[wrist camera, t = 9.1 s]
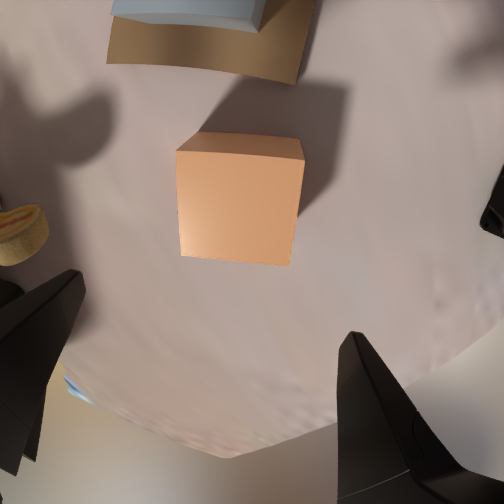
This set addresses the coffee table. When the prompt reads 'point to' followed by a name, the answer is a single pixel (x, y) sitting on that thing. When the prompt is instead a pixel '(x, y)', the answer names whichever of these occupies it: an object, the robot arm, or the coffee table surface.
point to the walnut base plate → (220, 43)
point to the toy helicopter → (22, 233)
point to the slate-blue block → (194, 12)
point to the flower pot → (4, 294)
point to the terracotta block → (239, 196)
